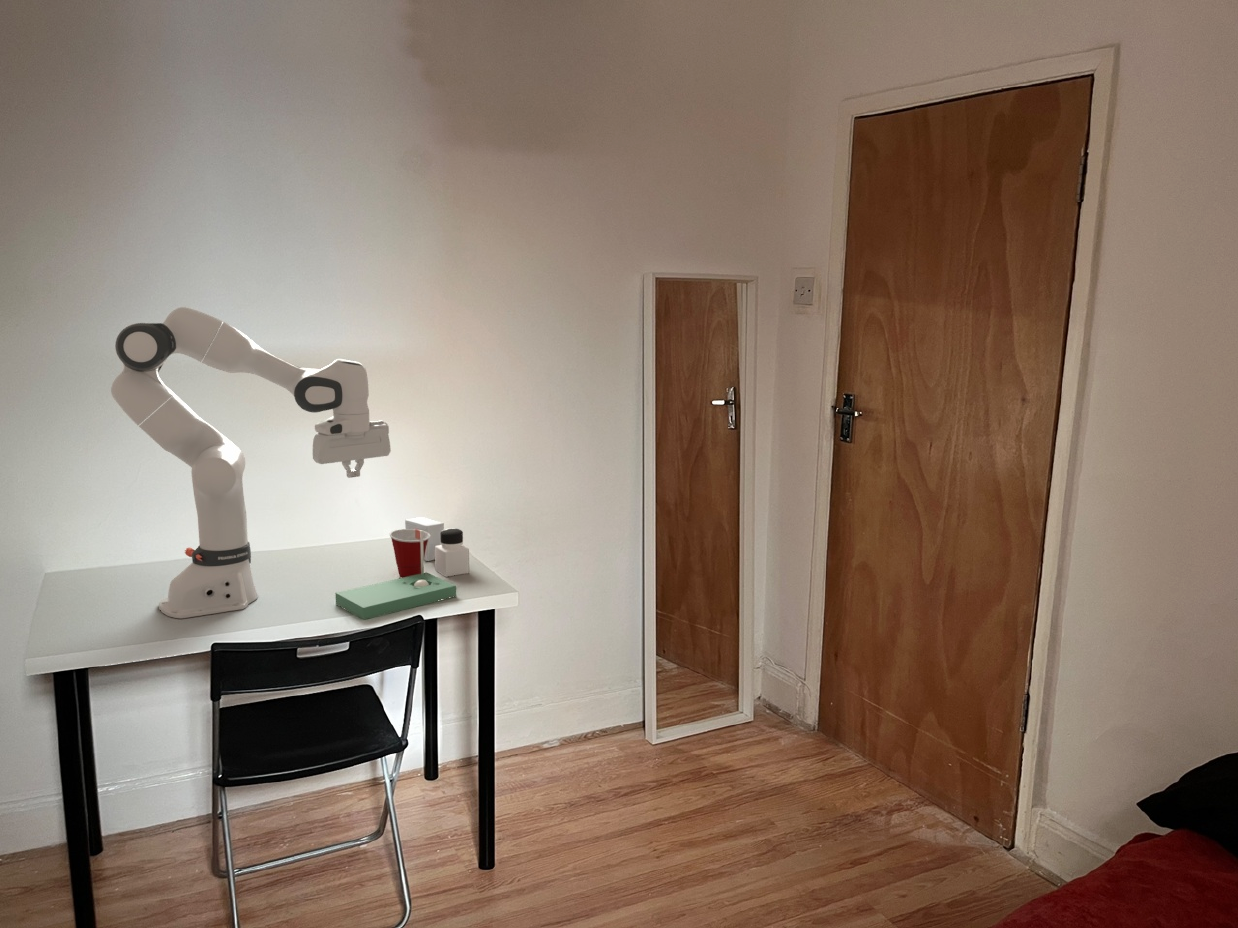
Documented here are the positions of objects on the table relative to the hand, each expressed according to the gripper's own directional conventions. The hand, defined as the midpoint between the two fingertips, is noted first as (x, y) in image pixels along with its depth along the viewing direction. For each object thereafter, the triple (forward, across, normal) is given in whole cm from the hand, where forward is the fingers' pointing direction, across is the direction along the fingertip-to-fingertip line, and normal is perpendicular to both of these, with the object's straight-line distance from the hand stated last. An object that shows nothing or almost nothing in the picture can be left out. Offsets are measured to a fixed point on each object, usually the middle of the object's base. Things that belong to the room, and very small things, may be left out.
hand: (353, 476), depth 248 cm
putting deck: (+29, -2, +17) cm, 34 cm away
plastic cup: (+29, -15, +2) cm, 33 cm away
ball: (+27, -9, +17) cm, 33 cm away
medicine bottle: (+29, -26, +6) cm, 39 cm away
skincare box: (+29, -28, -12) cm, 42 cm away
